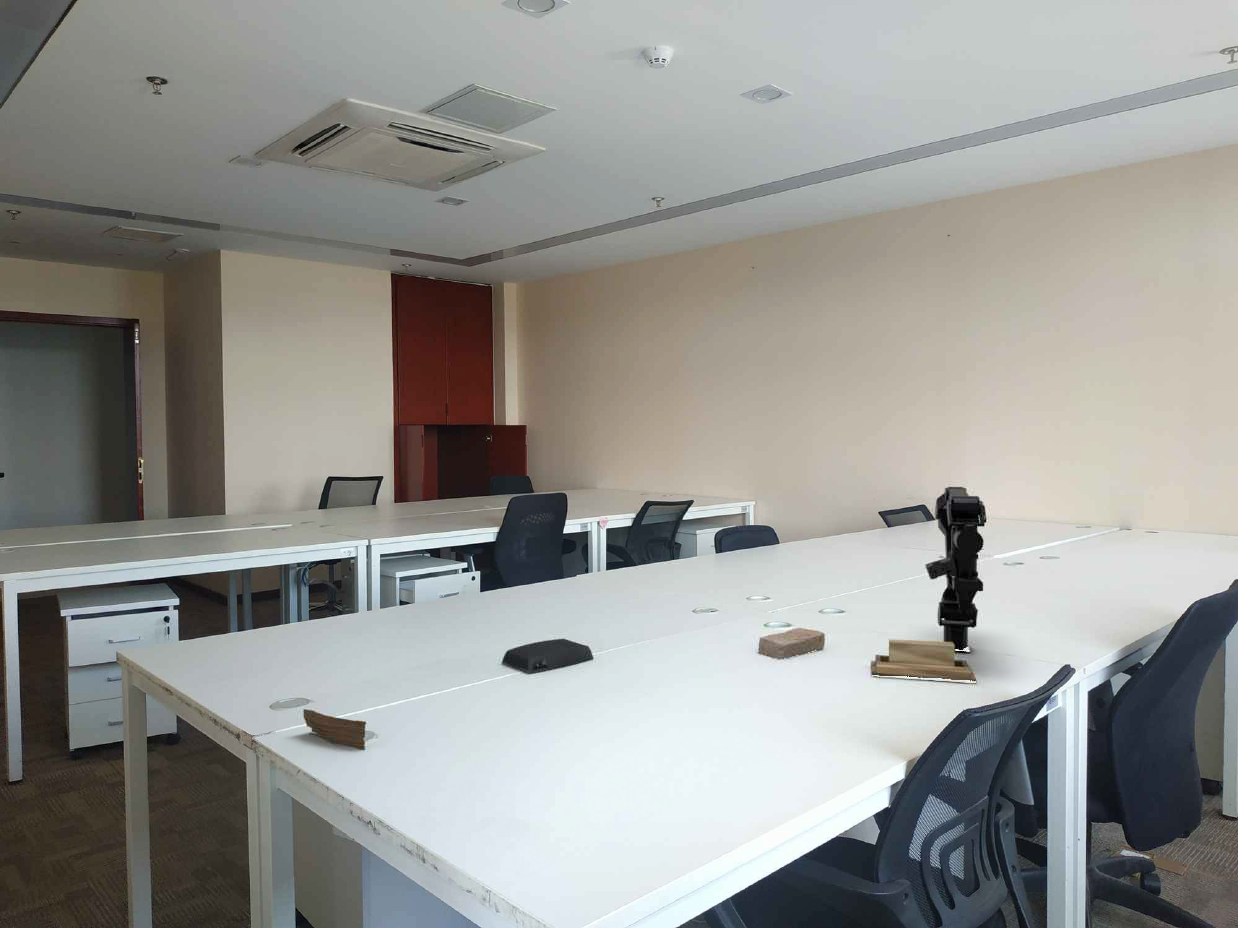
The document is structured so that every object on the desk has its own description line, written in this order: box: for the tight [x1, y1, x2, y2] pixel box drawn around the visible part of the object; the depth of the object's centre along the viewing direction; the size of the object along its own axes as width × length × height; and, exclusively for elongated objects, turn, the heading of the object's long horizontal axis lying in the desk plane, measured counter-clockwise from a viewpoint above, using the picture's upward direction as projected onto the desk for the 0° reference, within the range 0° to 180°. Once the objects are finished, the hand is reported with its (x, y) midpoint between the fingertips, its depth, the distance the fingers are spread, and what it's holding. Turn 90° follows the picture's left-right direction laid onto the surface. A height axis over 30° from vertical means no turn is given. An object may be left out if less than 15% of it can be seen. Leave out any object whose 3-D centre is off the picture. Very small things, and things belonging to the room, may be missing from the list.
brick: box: [758, 627, 826, 660], centre depth 216 cm, size 17×8×5 cm, turn 127°
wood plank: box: [302, 708, 367, 751], centre depth 155 cm, size 15×2×5 cm, turn 60°
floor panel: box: [870, 654, 977, 682], centre depth 196 cm, size 10×22×2 cm, turn 75°
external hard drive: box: [501, 638, 594, 675], centre depth 208 cm, size 13×19×4 cm
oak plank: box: [888, 638, 956, 667], centre depth 197 cm, size 4×14×6 cm, turn 75°
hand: (963, 614), depth 203 cm, fingers closed
